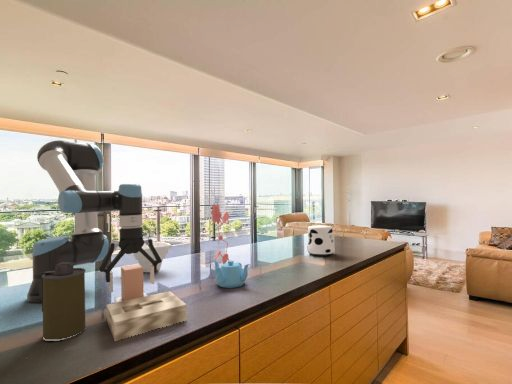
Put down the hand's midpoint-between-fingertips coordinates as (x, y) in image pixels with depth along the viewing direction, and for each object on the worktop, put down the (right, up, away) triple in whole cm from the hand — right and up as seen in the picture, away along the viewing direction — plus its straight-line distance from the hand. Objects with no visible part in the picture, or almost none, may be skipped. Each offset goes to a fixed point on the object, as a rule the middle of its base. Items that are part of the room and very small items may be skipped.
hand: (132, 287), depth 98 cm
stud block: (0, -7, 0) cm, 7 cm away
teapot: (+32, -7, +22) cm, 40 cm away
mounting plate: (+10, -6, -12) cm, 17 cm away
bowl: (-12, -9, +49) cm, 51 cm away
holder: (0, -7, 0) cm, 7 cm away
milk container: (+86, -7, +80) cm, 117 cm away
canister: (-11, -7, -19) cm, 23 cm away
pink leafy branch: (+21, -8, +62) cm, 66 cm away
